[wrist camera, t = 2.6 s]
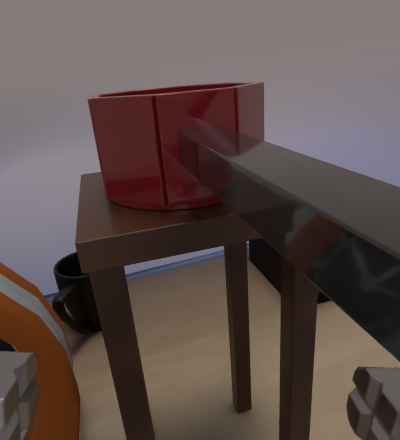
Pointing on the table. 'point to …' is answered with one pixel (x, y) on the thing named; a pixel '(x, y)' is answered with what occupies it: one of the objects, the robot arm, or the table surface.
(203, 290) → the table surface
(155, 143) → the saucepan
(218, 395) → the table surface
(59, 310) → the mug
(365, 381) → the robot arm
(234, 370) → the plant stand
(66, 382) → the alarm clock
